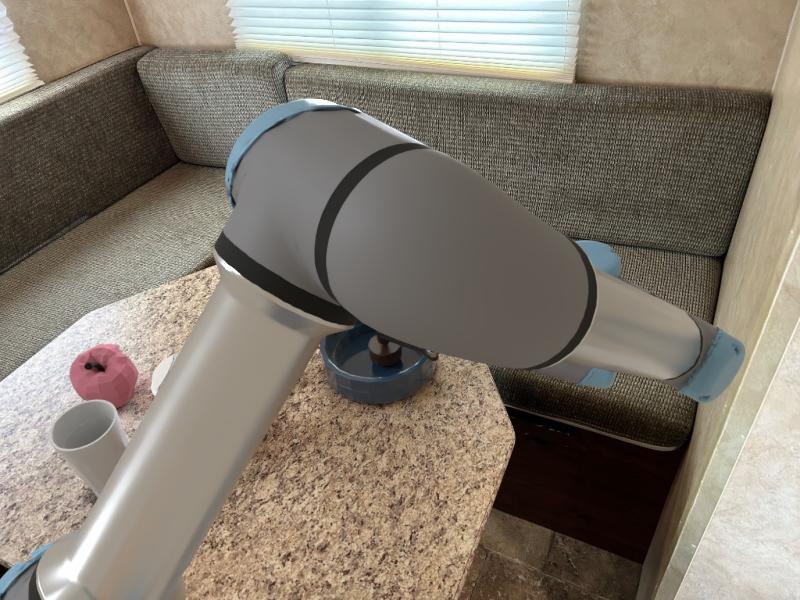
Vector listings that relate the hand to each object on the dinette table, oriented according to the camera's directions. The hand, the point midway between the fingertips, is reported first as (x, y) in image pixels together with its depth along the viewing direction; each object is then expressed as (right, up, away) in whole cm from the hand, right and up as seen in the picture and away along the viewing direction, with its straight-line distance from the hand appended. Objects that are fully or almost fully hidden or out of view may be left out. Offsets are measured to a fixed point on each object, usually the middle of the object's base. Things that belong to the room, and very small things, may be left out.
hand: (346, 299), depth 90 cm
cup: (-30, -25, -8) cm, 40 cm away
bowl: (+5, -10, +5) cm, 13 cm away
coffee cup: (-18, -21, -4) cm, 28 cm away
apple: (-36, -16, +4) cm, 39 cm away
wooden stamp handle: (+6, -9, +4) cm, 11 cm away
